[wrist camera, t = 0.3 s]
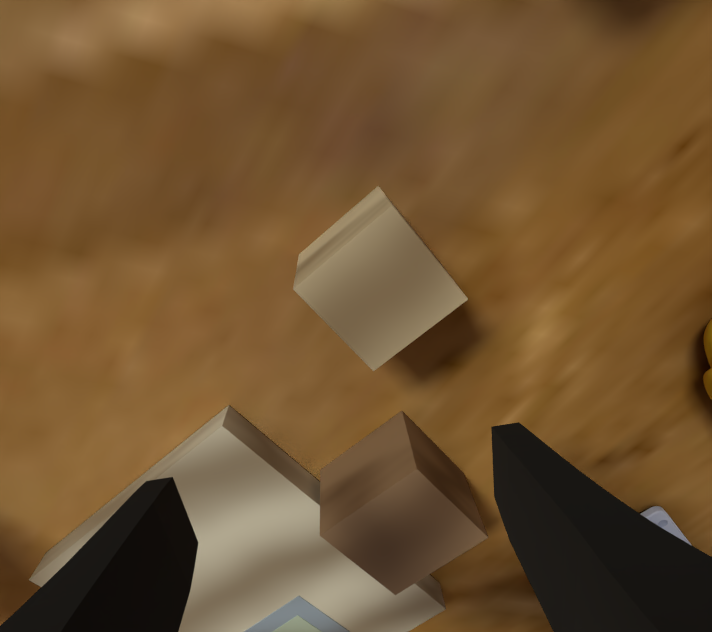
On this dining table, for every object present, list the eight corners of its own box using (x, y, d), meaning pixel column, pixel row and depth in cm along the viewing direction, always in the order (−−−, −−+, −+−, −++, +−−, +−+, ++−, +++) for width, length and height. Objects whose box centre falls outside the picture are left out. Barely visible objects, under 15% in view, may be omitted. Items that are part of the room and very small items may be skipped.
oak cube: (440, 263, 19) (468, 299, 15) (364, 323, 20) (373, 371, 16) (378, 185, 18) (392, 205, 14) (299, 253, 18) (292, 289, 15)
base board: (442, 585, 26) (448, 612, 25) (273, 687, 29) (271, 718, 28) (228, 405, 21) (221, 426, 19) (45, 552, 24) (27, 581, 22)
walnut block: (462, 471, 23) (488, 537, 20) (384, 523, 24) (395, 595, 21) (401, 408, 22) (417, 468, 18) (320, 467, 23) (319, 535, 19)
